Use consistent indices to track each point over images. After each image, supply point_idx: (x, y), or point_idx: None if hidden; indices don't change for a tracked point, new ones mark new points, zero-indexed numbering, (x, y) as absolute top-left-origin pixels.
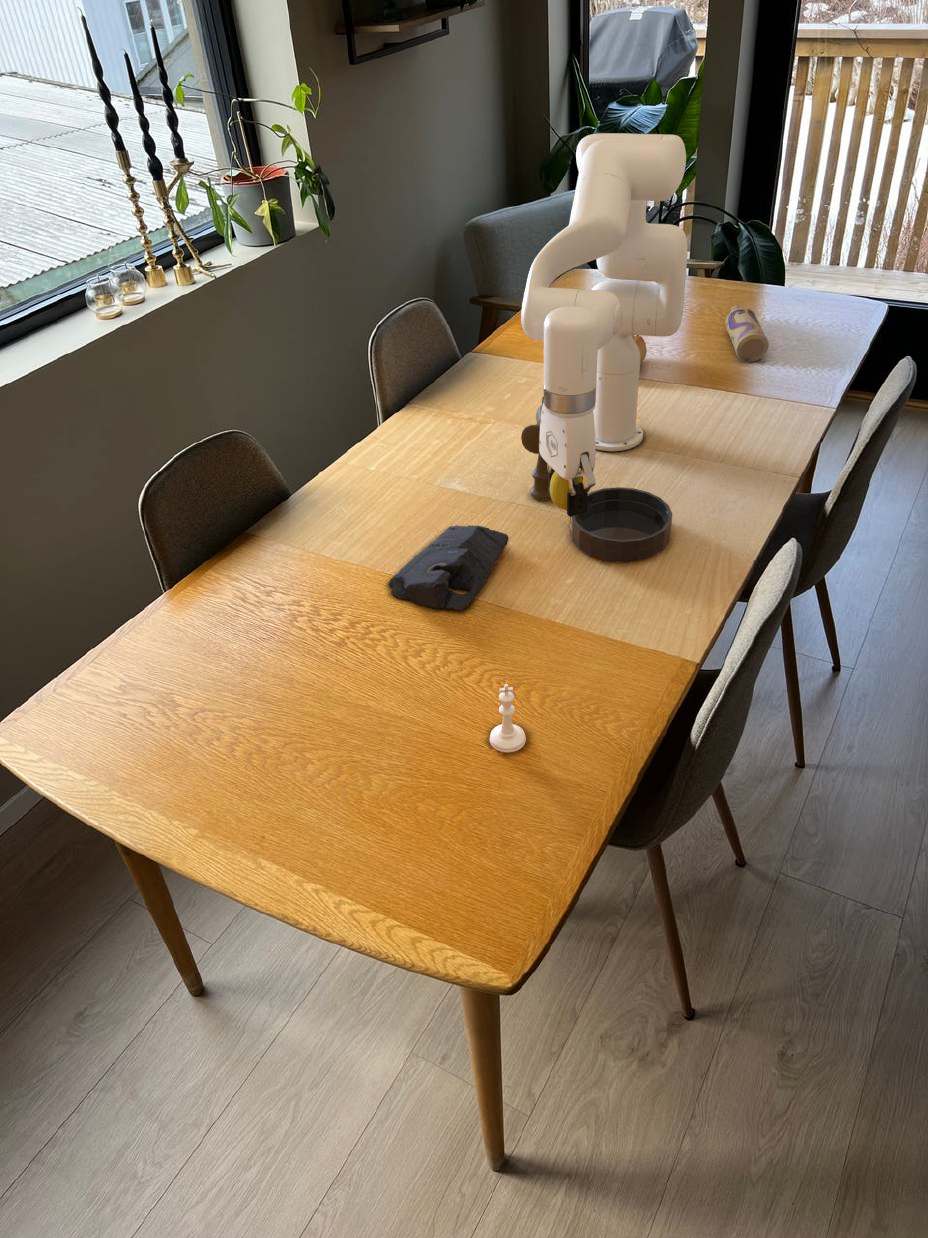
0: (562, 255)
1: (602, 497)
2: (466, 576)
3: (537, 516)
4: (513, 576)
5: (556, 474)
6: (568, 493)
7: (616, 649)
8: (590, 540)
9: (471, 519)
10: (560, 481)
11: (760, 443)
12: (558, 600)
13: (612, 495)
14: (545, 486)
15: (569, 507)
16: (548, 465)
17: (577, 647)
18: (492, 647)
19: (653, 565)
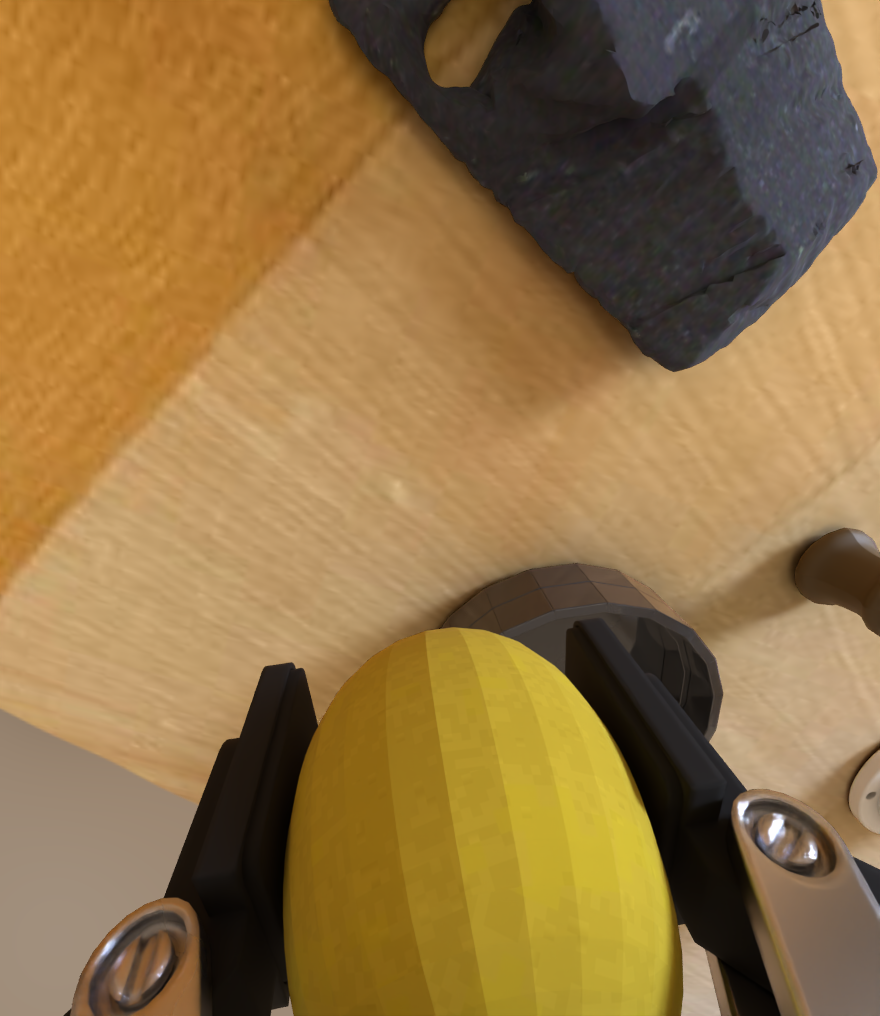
0: None
1: (692, 704)
2: (503, 68)
3: (745, 511)
4: (489, 323)
5: (520, 986)
6: (219, 879)
7: (5, 507)
8: (501, 617)
9: (864, 298)
10: (372, 948)
11: (700, 968)
12: (306, 424)
13: None
14: (844, 582)
15: (244, 732)
16: (837, 879)
17: (25, 392)
18: (52, 42)
19: None
